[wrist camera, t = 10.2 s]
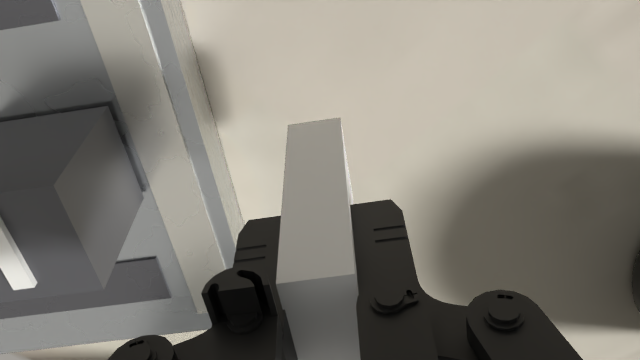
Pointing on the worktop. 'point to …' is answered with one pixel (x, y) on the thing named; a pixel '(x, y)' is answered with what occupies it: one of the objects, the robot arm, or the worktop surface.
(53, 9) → the panel
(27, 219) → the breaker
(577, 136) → the worktop surface
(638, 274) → the mug
